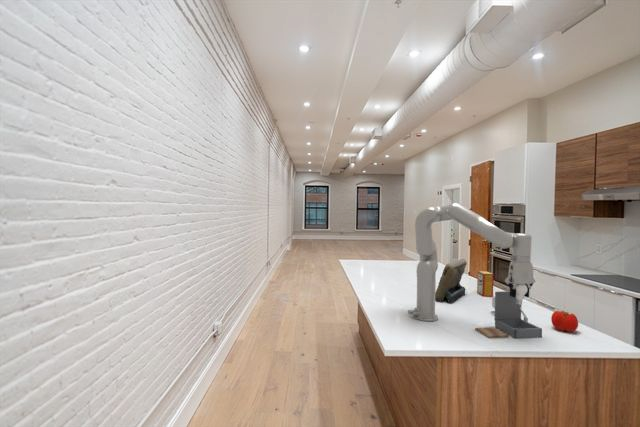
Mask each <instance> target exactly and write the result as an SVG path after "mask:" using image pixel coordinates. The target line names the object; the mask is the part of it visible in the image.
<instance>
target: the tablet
mask: <svg viewBox="0 0 640 427" xmlns="http://www.w3.org/2000/svg"><path fill="white" fill-rule="evenodd" d="M467 265H468V263H467V260H466V258H460V259H458V260H456V261H452V262H448V263H446V264H445V266H444V268H443V270H442V272H441V276H440V279H439V282H438V285H437V289H436V290H435V302H436V301H437V302H438V303H439V302H443V300H444V299H445V298H446V299H447V303H448V304H453V303H455V302H457V301H458V300H460V299H461V298H463V297H464V296H465V295H466V287H464V286H462V285H461V283H460V282H461V280H462V276H463V275H464V273H465V271H466V270H465V269H466V266H467Z"/></svg>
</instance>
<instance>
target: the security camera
mask: <svg viewBox="0 0 640 427" xmlns="http://www.w3.org/2000/svg"><path fill="white" fill-rule="evenodd" d="M491 301H492V302H491V306H492V308H493V309H494V310H490V314H491V315H492V316H493V317H495V295H493V296H492V297H491Z"/></svg>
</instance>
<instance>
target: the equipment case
mask: <svg viewBox="0 0 640 427" xmlns="http://www.w3.org/2000/svg"><path fill="white" fill-rule="evenodd" d="M494 296H495V309H494V311H495V316H494V328H496V329H498V330H500V331H502V332H504V333H505V334H507V335H509V336H510V338H514V339H533V338H542V337H543V328H542V327H540V326H537V325H535V324H532V323H530V322H529V318H528V317H527V315H526V314H525V312H524V310H523V309H522V308H523V307H522V305H517V304H516V298H515V297H512V296H510V290H506V291H503V290H502V291H495V292H494ZM522 315H523V319H522Z"/></svg>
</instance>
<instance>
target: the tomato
mask: <svg viewBox="0 0 640 427" xmlns="http://www.w3.org/2000/svg"><path fill="white" fill-rule="evenodd" d="M550 319H551V324H552V326H553V327H554V328H555V329H556V330H558V331H562V332H563V331H565V332H567V333H569V332H570V333H571V332H574V331H577V329H578V328H579V320H578V317H577V316H576V314H574V313H569V312H568V311H564V310H561V311H559V310H555V311H554V312H553V313H552V315H551V317H550Z"/></svg>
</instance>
